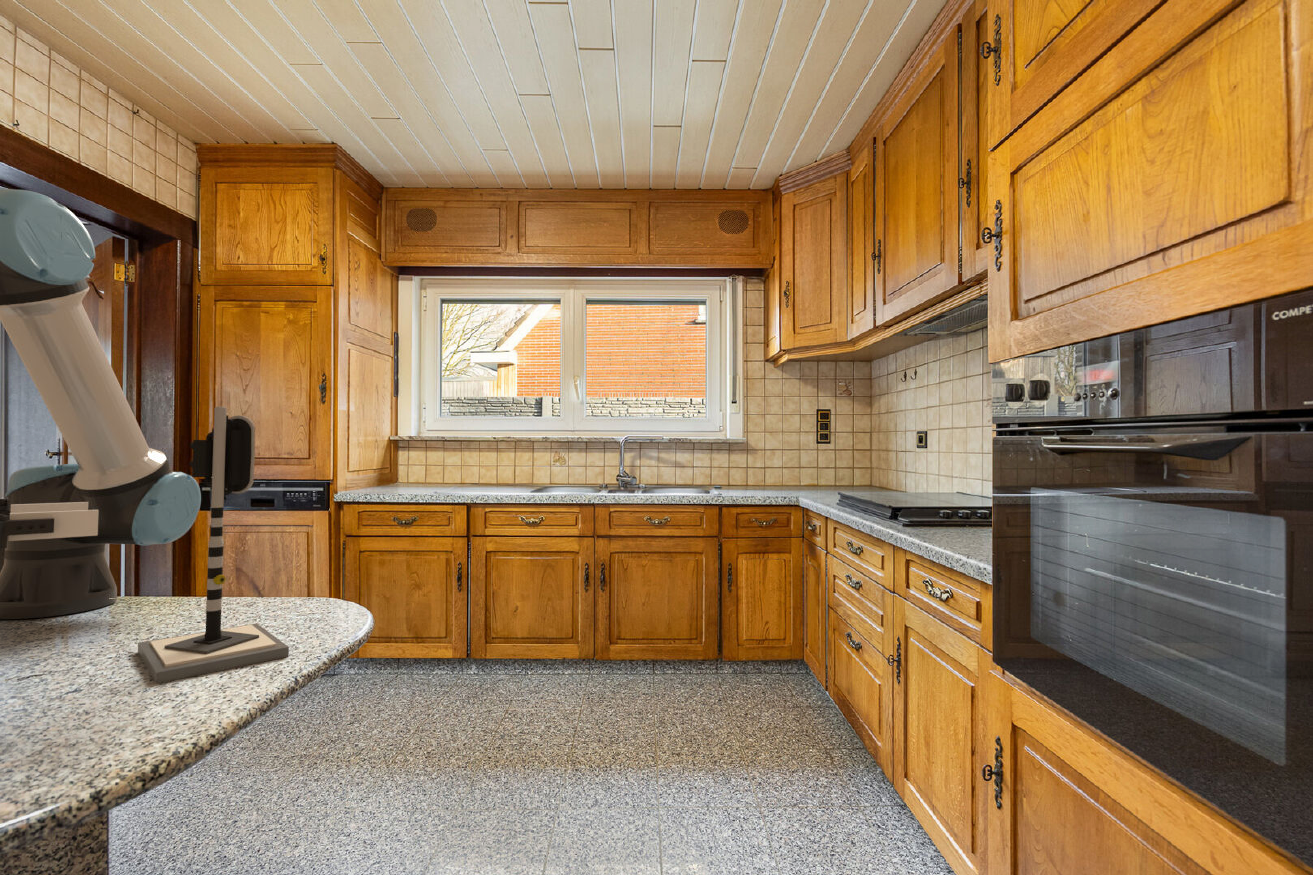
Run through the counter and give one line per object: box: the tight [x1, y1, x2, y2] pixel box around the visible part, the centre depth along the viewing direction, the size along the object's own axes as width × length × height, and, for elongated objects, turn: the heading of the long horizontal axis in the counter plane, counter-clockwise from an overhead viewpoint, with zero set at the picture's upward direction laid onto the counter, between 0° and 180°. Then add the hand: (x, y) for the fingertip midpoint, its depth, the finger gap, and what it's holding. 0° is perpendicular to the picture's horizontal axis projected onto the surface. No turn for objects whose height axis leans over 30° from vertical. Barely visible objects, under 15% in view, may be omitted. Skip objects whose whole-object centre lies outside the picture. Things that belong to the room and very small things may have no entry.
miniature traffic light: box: [164, 406, 259, 654], centre depth 78 cm, size 8×8×30 cm
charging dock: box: [137, 622, 290, 685], centre depth 77 cm, size 15×13×2 cm
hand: (93, 517), depth 70 cm, fingers open, 13 cm apart
